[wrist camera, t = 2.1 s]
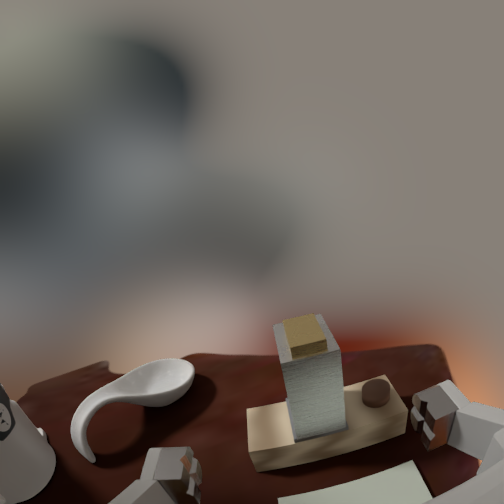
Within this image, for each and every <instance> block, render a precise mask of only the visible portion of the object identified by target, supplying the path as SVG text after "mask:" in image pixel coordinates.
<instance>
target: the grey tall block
mask: <svg viewBox="0 0 504 504" xmlns="http://www.w3.org/2000/svg"><path fill="white" fill-rule="evenodd" d="M273 330H274V334H275V339H276V343H277V348H278V353H279V358H280V362H281V367H282V372H283V376H284V381H285V386H286V390H287V395H288V400H289V404H290V409H291V414H292V418H293V423H294V428H295V433H296V437H297V440H298V439H302V438H307V437H311V436H315V435H319V434H323V433H327V432H331V431H335V430H338V429H342V428H345V427H346V421H345V404H344V389H343V376H342V364H341V353H340V348H339V346H338V345H337V343H336V341H335V339H334V337H333V335H332V333H331V332H330V330H329V328H328V326H327V324H326V323H325V321H324V319H323V317H322V315H321V314H318V315H314V314H313V313H312V314H308V315H304V316H300V317H295V318H291V319H287V320H283V323H279V324H275V325H273Z"/></svg>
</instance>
